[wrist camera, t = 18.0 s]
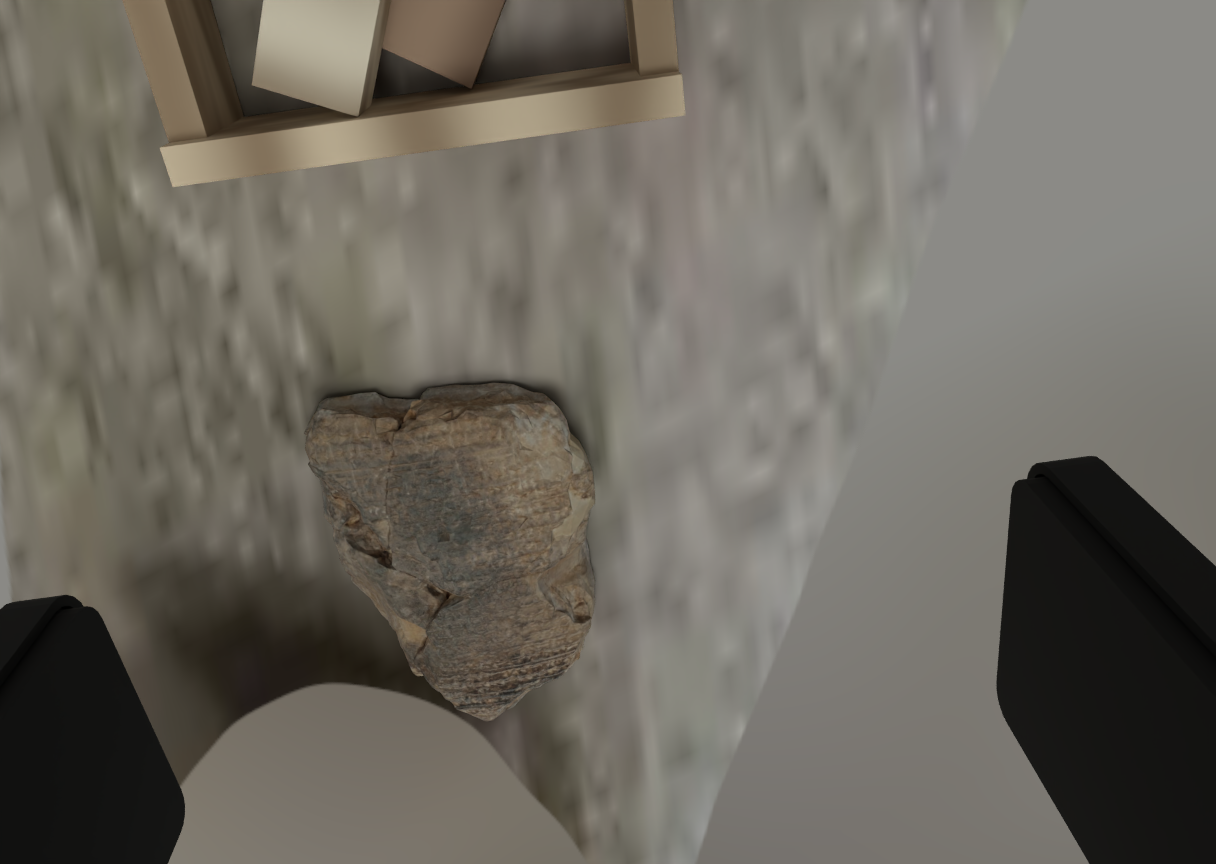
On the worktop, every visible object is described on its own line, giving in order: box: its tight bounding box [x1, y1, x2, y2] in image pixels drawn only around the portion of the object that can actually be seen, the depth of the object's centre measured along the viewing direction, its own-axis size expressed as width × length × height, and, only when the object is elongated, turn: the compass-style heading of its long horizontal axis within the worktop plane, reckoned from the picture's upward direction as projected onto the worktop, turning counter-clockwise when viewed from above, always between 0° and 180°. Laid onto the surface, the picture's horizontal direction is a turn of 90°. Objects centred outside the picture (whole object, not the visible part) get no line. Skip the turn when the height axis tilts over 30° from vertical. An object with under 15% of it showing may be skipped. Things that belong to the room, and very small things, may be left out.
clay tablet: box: [305, 383, 595, 721], centre depth 51 cm, size 14×5×20 cm
